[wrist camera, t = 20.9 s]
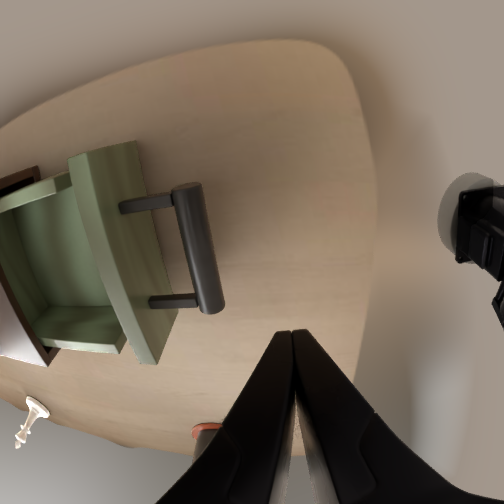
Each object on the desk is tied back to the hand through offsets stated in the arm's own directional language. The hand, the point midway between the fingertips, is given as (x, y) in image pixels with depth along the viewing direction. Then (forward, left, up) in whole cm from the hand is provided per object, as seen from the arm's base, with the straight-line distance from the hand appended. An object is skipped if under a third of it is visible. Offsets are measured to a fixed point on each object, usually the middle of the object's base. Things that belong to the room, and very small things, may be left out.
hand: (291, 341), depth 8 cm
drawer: (+11, -1, -10) cm, 15 cm away
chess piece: (+44, +23, -11) cm, 51 cm away
